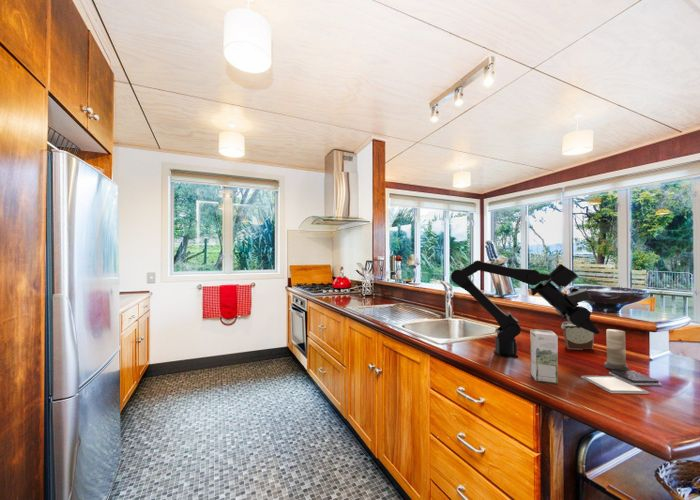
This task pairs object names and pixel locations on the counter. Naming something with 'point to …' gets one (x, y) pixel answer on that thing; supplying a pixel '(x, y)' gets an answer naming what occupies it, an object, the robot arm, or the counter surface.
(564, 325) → the food container
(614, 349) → the stamp
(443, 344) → the counter surface
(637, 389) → the marked board
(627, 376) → the ink pad
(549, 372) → the syrup box
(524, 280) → the robot arm
